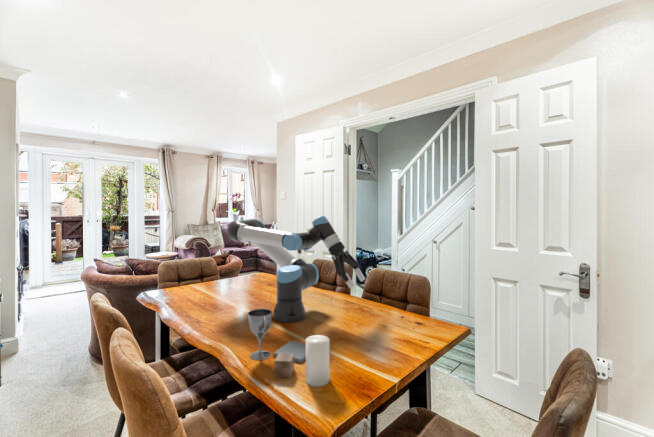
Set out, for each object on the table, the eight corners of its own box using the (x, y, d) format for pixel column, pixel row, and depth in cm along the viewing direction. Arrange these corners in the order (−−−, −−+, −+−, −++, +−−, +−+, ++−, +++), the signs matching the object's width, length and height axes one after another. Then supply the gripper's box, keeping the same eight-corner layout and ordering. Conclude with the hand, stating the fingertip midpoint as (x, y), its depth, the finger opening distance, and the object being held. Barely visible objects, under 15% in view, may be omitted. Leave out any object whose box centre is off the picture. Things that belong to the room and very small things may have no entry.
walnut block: (274, 377, 93) (274, 360, 93) (278, 368, 98) (278, 353, 98) (290, 378, 92) (290, 361, 92) (294, 369, 97) (294, 353, 97)
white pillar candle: (301, 382, 90) (301, 342, 89) (312, 371, 96) (312, 333, 96) (322, 389, 86) (322, 346, 86) (333, 377, 93) (333, 337, 92)
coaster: (273, 356, 106) (273, 352, 106) (290, 343, 116) (290, 340, 116) (301, 363, 101) (301, 359, 101) (316, 349, 111) (316, 346, 111)
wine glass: (250, 350, 110) (250, 308, 110) (272, 349, 111) (272, 308, 110) (246, 361, 102) (246, 316, 102) (270, 360, 103) (270, 315, 103)
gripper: (327, 243, 136) (353, 285, 131) (350, 238, 158) (373, 274, 153) (315, 252, 139) (340, 294, 134) (339, 246, 161) (361, 281, 156)
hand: (358, 283), depth 143 cm, fingers open, 13 cm apart
